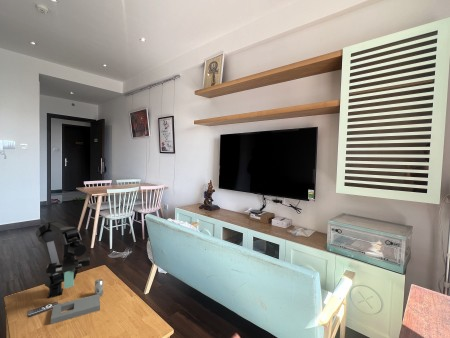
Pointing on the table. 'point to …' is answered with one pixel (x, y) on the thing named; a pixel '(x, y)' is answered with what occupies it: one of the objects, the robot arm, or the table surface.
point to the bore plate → (75, 308)
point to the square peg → (69, 279)
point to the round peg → (99, 287)
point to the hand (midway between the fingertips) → (69, 280)
